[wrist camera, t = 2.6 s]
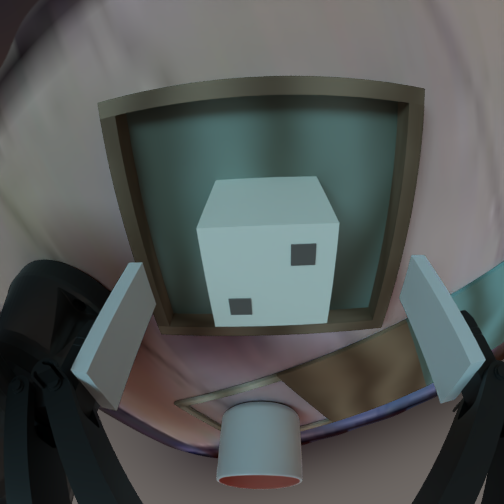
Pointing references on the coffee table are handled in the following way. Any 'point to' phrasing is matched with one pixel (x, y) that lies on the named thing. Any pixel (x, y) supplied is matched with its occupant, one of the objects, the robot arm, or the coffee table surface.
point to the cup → (260, 447)
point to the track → (375, 362)
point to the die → (268, 251)
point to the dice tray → (262, 166)
